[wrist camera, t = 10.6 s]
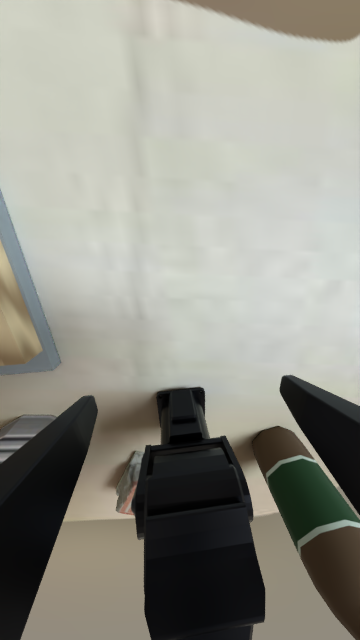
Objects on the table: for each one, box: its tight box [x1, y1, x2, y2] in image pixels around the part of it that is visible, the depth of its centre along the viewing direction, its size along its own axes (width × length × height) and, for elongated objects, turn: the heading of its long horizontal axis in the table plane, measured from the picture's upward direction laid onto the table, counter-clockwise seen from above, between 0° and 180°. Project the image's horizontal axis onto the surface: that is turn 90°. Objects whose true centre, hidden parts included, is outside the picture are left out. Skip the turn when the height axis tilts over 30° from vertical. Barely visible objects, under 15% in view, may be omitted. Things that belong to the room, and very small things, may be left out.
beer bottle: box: [252, 426, 360, 640], centre depth 17 cm, size 8×8×24 cm
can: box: [0, 415, 57, 464], centre depth 19 cm, size 11×11×12 cm
